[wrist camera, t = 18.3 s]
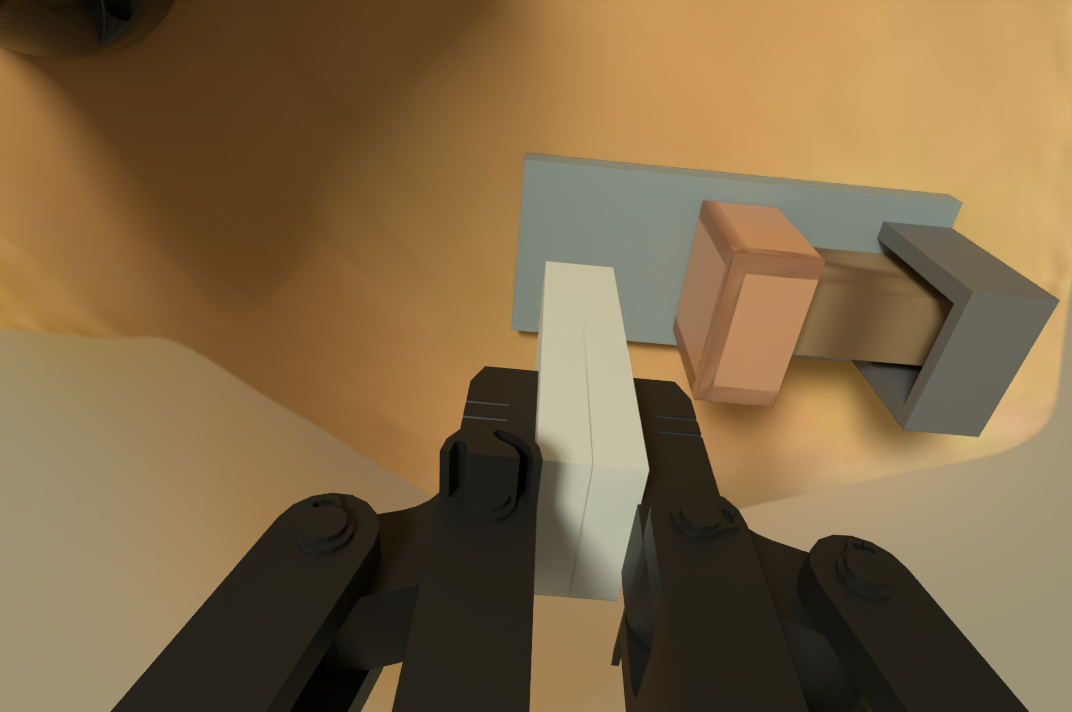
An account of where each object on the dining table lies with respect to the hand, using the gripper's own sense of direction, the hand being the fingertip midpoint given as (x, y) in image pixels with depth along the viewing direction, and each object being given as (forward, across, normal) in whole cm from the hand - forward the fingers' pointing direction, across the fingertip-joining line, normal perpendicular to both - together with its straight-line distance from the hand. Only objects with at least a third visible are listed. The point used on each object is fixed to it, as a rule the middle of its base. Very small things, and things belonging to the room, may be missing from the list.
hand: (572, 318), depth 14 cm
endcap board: (+24, +10, -8) cm, 28 cm away
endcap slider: (+23, +10, -8) cm, 26 cm away
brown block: (+23, +16, -8) cm, 29 cm away
